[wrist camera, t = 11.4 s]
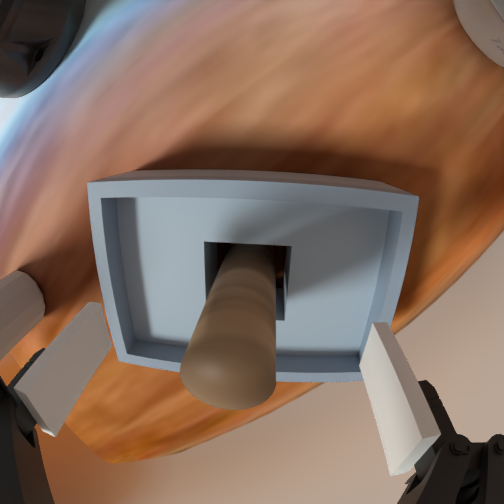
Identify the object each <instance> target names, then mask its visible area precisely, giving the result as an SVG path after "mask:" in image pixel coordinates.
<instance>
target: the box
mask: <svg viewBox="0 0 504 504" xmlns="http://www.w3.org/2000/svg"><path fill="white" fill-rule="evenodd" d="M87 186H88V200H89V212H90V221H91V230H92V238H93V245H94V252H95V259H96V265H97V271H98V276H99V282H100V287H101V292H102V297H103V301H104V306H105V310H106V315H107V319H108V323H109V327H110V331H111V335H112V339H113V342H114V346H115V349H116V353H117V356H118V360H119V361H121V362H126V363H131V364H135V365H141V366H146V367H151V368H157V369H163V370H169V371H175V372H180V366H181V362H182V360H183V357H184V355H185V352H186V350H187V347H188V345H189V342H190V340H191V337H192V335H193V332H194V330H195V327H196V325H197V322H198V320H199V317H200V315H201V312H202V310H203V308H204V305H205V303H206V300H207V298H208V295H209V293H210V290H211V288H212V286H213V283H214V281H215V278H216V276H217V274H218V242H225V243H244V244H262V245H280V246H286V257H285V269H284V281H283V289H282V288H276V381H282V382H349V381H364V379H363V376H362V373H361V370H360V367H359V364H360V361H361V358H362V355H363V352H364V349H365V346H366V343H367V340H368V336H369V333H370V330H371V326H372V323H373V322H387V323H388V325H389V327H391V323H392V320H393V317H394V313H395V310H396V306H397V303H398V299H399V296H400V292H401V288H402V284H403V280H404V276H405V272H406V267H407V263H408V259H409V254H410V249H411V244H412V239H413V234H414V228H415V222H416V216H417V210H418V203H419V196H416V195H414V194H412V193H409V192H407V191H404V190H402V189H399V188H396V187H394V186H391V185H389V184H386V183H383V182H381V181H375V180H366V179H358V178H349V177H340V176H329V175H318V174H306V173H292V172H275V171H255V170H220V169H173V170H139V171H131V172H127V173H122V174H118V175H114V176H110V177H106V178H103V179H99V180H95V181H91V182H88V183H87Z"/></svg>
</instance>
